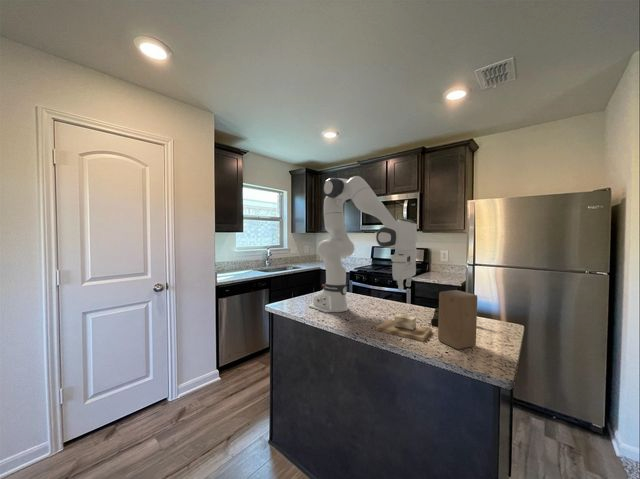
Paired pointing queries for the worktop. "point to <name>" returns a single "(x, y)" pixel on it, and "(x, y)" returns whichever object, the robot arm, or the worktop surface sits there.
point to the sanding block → (405, 322)
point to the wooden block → (457, 319)
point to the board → (404, 331)
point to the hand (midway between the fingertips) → (404, 288)
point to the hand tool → (435, 318)
